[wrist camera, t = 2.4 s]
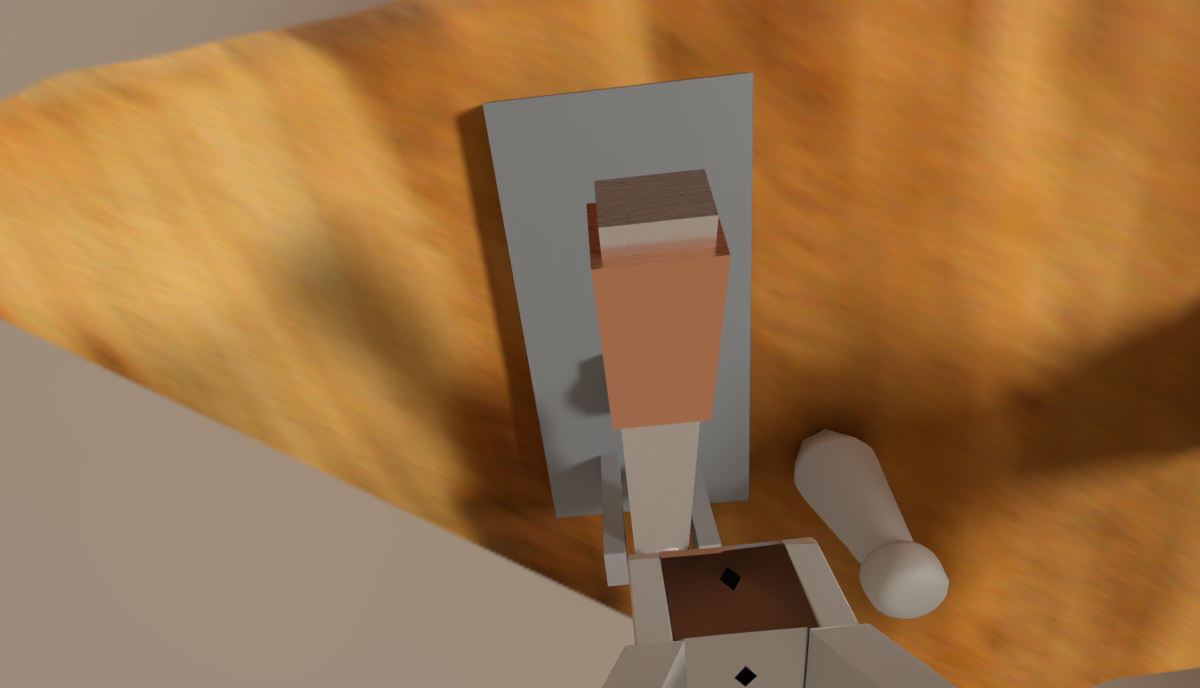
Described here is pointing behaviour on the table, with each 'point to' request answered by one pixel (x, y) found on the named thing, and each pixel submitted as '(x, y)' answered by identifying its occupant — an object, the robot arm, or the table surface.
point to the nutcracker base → (565, 287)
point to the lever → (659, 335)
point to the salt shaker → (869, 524)
